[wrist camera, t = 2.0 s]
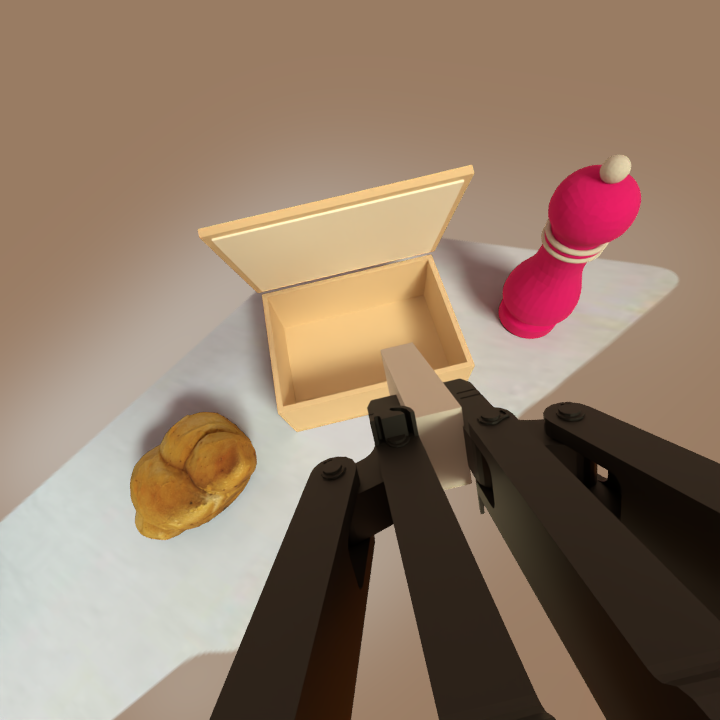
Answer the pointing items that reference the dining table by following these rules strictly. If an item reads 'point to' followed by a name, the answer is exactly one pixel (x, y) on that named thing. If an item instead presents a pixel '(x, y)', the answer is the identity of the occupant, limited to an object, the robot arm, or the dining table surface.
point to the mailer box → (357, 338)
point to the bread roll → (190, 475)
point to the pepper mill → (569, 246)
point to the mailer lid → (340, 231)
